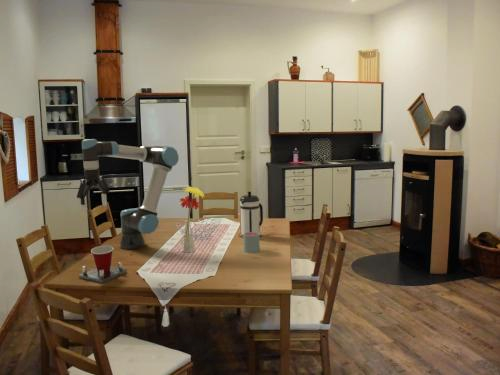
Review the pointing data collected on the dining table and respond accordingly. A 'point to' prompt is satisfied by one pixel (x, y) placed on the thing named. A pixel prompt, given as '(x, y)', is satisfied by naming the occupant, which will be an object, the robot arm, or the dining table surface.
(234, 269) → the dining table surface
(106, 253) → the plastic cup
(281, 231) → the dining table surface
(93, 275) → the chassis
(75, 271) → the dining table surface
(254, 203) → the coffee press
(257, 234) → the mug
